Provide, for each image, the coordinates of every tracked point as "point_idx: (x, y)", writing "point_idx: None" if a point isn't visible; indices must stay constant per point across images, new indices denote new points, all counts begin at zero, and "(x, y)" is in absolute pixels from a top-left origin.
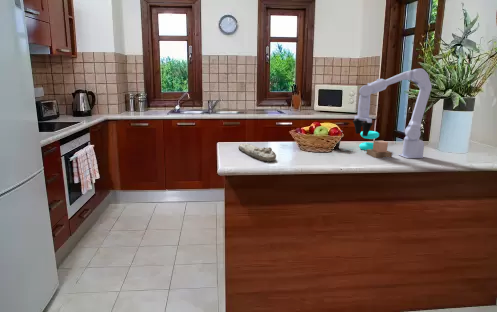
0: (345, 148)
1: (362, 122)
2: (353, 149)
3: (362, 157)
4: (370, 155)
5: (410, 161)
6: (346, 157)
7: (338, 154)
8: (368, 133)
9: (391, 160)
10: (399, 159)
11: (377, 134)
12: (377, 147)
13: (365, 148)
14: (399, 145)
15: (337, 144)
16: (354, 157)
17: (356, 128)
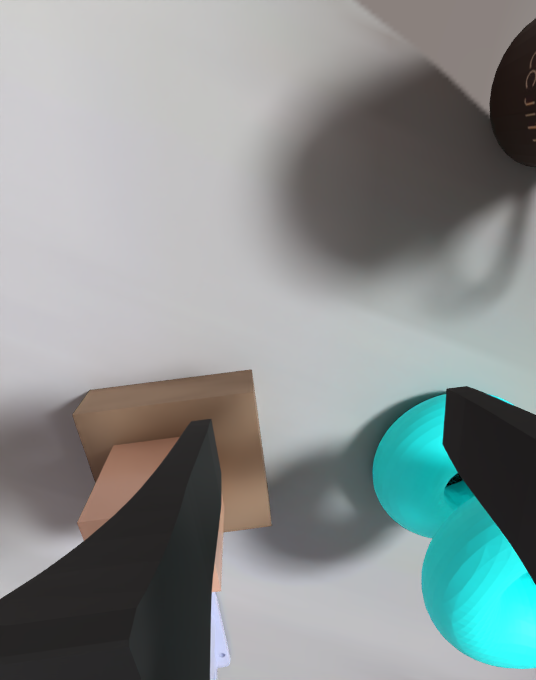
0: (522, 254)
1: (41, 666)
2: (459, 321)
3: (84, 275)
4: (175, 380)
5: (6, 579)
6: (49, 76)
7: (214, 27)
8: (479, 563)
9: (7, 476)
10: (60, 538)
11: (443, 635)
12: (119, 473)
13: (400, 421)
14: (522, 671)
15: (525, 112)
16: (68, 184)
17: (510, 439)
